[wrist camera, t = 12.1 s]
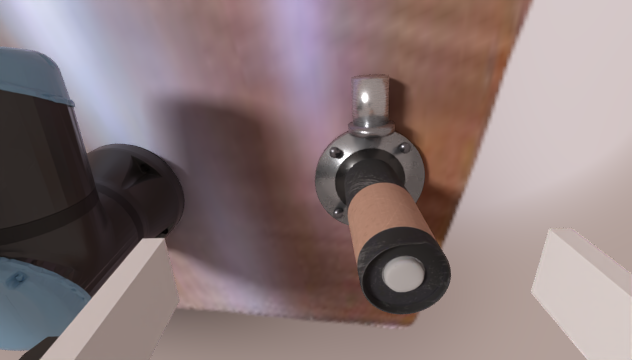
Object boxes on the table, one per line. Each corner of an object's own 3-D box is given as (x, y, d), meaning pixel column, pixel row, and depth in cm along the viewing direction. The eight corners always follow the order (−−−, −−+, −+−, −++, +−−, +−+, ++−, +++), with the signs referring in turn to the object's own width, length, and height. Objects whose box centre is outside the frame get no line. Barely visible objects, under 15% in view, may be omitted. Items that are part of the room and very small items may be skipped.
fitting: (319, 227, 50) (319, 249, 45) (307, 79, 42) (305, 85, 37) (419, 221, 50) (431, 242, 45) (428, 70, 41) (444, 75, 36)
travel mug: (346, 210, 48) (365, 321, 29) (338, 161, 45) (353, 249, 26) (400, 202, 47) (453, 309, 29) (395, 151, 44) (452, 235, 26)
